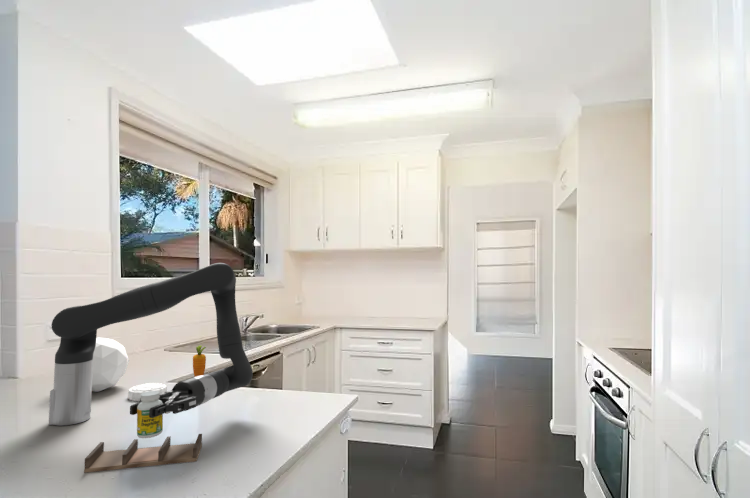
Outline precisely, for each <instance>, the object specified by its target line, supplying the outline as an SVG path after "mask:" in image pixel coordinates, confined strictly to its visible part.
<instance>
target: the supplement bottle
mask: <svg viewBox="0 0 750 498" xmlns="http://www.w3.org/2000/svg"><path fill="white" fill-rule="evenodd" d="M159 397H160V392H159V391H149V392H145V393H142V394H141V398H140V400H141V401H142V402H141V403H139V402H138V403H139V405H138V407H137V414H136V437H138V438H139V439H150V438H154V437H157V436H159V435H161V434H162V433H163V424H164V421H163V420H164V419H163V418H164V417H163V415H164V414H162V415H159V416H157V417H154V418H150V417H149V410H150V408H152V407H155V406H157V405H160V404H163V403H162V401H161V400H158V399H159Z"/></svg>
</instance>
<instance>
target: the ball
mask: <svg viewBox="0 0 750 498" xmlns="http://www.w3.org/2000/svg"><path fill="white" fill-rule="evenodd" d="M129 362H130V360H129V356H128V353H127V350H126V347H125V346H124V345H123V344H122V343H120V342H119V341H117V340H115V339H112V338H108V337H96V346H95V350H94V353H93V371H92V392H101V391H103V390H106V389H109V388H111V387H114V386H116V385H117V384H118V383H119V381H120V380H121V379H122V378H123V377H124V375H125V374H126V371H127V368H128V365H129Z"/></svg>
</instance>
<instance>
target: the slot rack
mask: <svg viewBox="0 0 750 498" xmlns="http://www.w3.org/2000/svg"><path fill="white" fill-rule="evenodd" d="M171 438H172V437H171V435H170V436H169V435H168V436H166V438H164V439H165V440H164V441H163V443H162V445H160V446H150V447H148V446H147V447H138V445H139V439H138V438H136V439H133V441H132V442H131V443H130V444H129V446H128V447H127V448H126V449H118V450H117V449H116V450H107V451H106V450H105V451H104V449H105V448H104V447H105V442H104V441H99V443H98V444H97V445H96V446H95V447H94V448H93V449H92V450H91V451H90V453H88V455H86V457H85V458H84V469H83V473H85V474H86V473H93V472H95V473H96V472H104V471H113V470H115V471H116V470H124V469H125V470H126V469H133V468H143V467H144V468H145V467H154V466H162V465H163V466H164V465H165V466H166V465H173V464H181V463H192V462H193V463H194V462H197V461H198V460H199V456H200V453H201V450H202V447H203V433H198V435H197V438H196V440H195V442H193V443H184V444H183V443H182V444H171Z"/></svg>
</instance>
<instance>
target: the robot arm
mask: <svg viewBox="0 0 750 498" xmlns="http://www.w3.org/2000/svg"><path fill="white" fill-rule="evenodd" d="M236 284H237V278H236V274H235V271H234V270H233V268H232V266H230V265H229V264H228V263H224V262H216V263H212V264H209V265H207V266H203V267H202V268H199V269H197V270H195V271H192V272H188V273H186V274H182V275H178V276H175V277H172V278H168V279H167V278H166V279H165V280H164V279H163V280H161V281H157V282H153V283H150V284H149V283H148V284H146V285H143V286H139V287H137V288H133V289H131V290H128V291H124V292H123V293H120V294H117V295H115V296H112V297H110V298H108V299H105V300H102V301H99V302H98V301H97V302H93V303H90V304H84V305H75V306H71V307H67V308H64V309H62V310H60V311H59V312H58V313H57V314H55V316H54V318H53V319H52V320H51V326H50V328H51V330H52V332H53V333H54V334H55V336H57V337H59V338H60V343H59V346H58V349H57V351H56V352H55V354H54V369H53V370H54V375H53V389H51V390H50V391H49V404H48V405H49V406H48V408H49V409H48V410H49V411H48V425H52V426H53V425H54V426H69V425H75V424H80V423H83V422H85V421H88V420H90V418H91V413H92V392H93V391H92V371H93V353H94V350H95V346H96V338H97V333H98V329H101V328H104V327H108V326H111V325H113V324H118V323H123V322H128V321H132V320H138V319H141V318H145V317H149V316H152V315H156V314H159V313H162V312H164V311H166V310H169V309H171V308H173V307H175V306H176V305H179V304H180V303H181V302H183V301H185V300H186V299H189V298H190V297H194V296H196V295H200V294H204V293H207V292H210V293H211V296H212V299H213V303H214V307H215V313H216V314H215V315H216V338H217V345H218V351H219V356H220V358H221V359H225V360H227V359H230V361H231V363H232V365H229V366H226V367H223V368H221V369H219V370H215V371H212V372H208V373H206V374H205V373H204V375H200V376H196V377H195V376H194V377H190V378H188V379H184V380H182V381H178V382H177V383H175V385H174V386H173V387H172V389H171V390H167V391H166V392H165V393H161V394H160V397H159V399H158V400H161V401H162V403H163V404H160V405H157V406H155V407H152V408H150V410H149V417H150V418H154V417H157V416H159V415H162V414H163V415H165V414H166V415H168V414H171V413H172V415H173V414H175V415H177V414H178V413H182V412H186V411H189V410H191V409H195V408H196V407H198V406H201V405H203V404H206V403H209V401H211V400H213V399H215V398H218V397H220V396H222V395H224V394H225V393H226V392H227V393H228V392H229V391H232V390H236V389H239V388H243V387H246V386H249V385H250V383H251V382H252V380H253V375H254V374H253V368H252V365H251V362H250V361H249V359H248V357H247V354H246V352H245V350H244V347H243V340H242V333H241V328H240V324H239V318H238V314H237V313H238V312H237V306H236ZM141 402H142V401H141V400H140V401H138V402H137V403H133V404H131V405H130V406H129V415H131V416H135V415H137V407H138V405H139V403H141Z"/></svg>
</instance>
